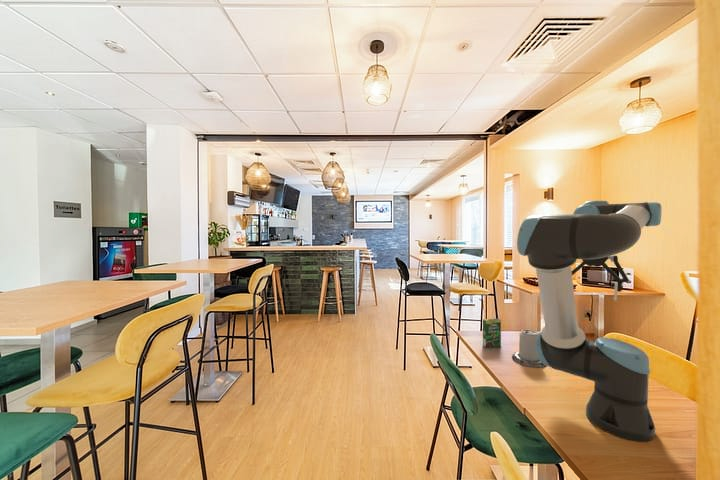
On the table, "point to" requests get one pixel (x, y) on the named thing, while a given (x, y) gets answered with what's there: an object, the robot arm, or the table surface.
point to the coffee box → (491, 333)
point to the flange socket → (527, 363)
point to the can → (528, 345)
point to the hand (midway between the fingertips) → (592, 297)
